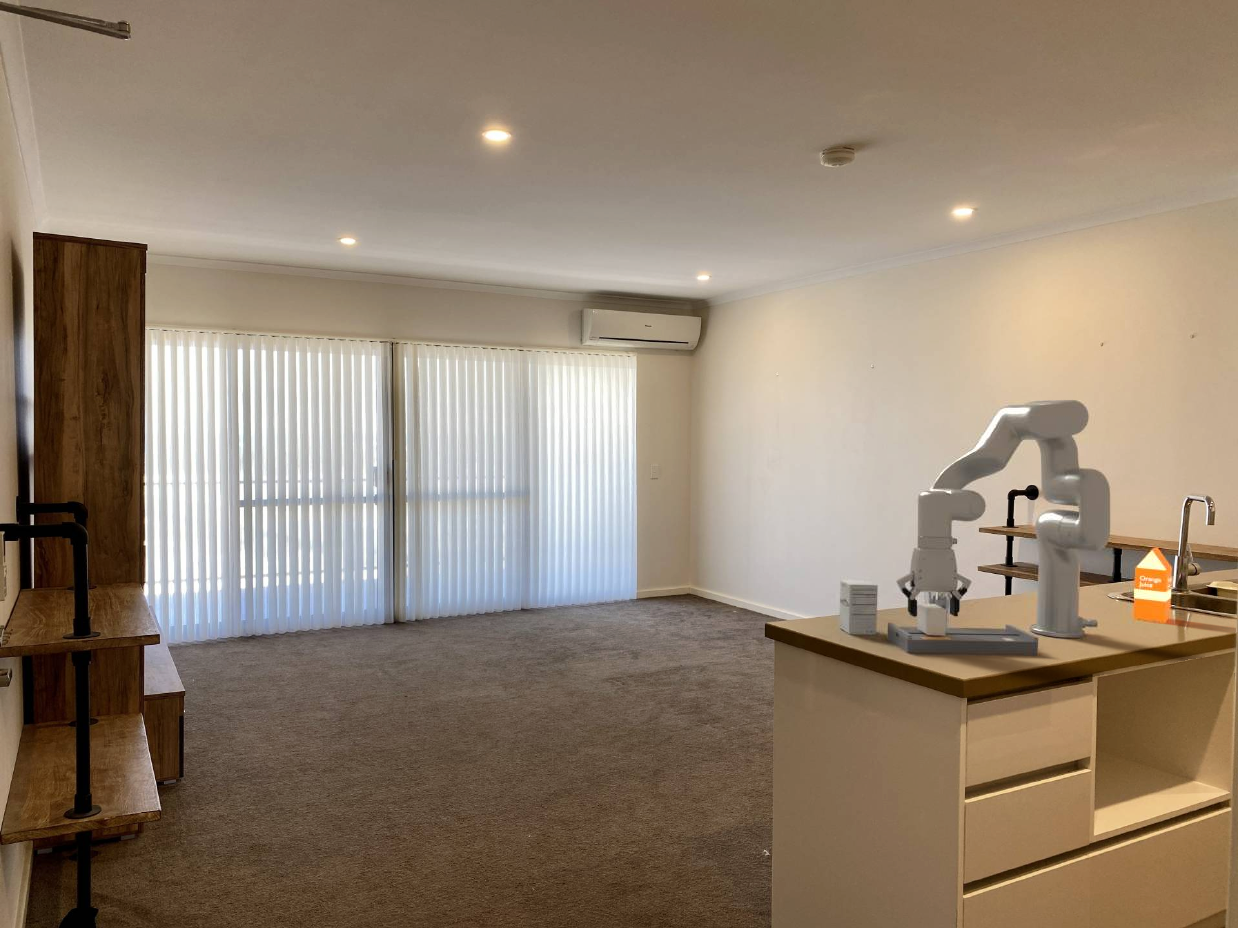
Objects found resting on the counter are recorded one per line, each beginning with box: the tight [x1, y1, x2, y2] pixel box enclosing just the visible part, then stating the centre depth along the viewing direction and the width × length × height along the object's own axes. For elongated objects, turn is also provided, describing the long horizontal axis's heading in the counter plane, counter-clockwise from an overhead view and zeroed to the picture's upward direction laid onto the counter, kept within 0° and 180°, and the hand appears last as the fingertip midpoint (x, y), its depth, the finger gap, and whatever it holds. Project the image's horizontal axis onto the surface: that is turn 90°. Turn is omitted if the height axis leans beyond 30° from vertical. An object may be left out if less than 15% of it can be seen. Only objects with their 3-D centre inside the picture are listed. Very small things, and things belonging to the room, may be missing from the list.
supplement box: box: [838, 579, 879, 636], centre depth 221 cm, size 7×7×13 cm
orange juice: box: [1132, 546, 1173, 624], centre depth 246 cm, size 8×9×20 cm
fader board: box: [886, 622, 1039, 656], centre depth 207 cm, size 30×14×4 cm, turn 91°
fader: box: [916, 603, 946, 635], centre depth 207 cm, size 4×7×7 cm, turn 1°
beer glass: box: [923, 592, 952, 628], centre depth 224 cm, size 7×7×15 cm
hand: (933, 615), depth 207 cm, fingers open, 9 cm apart
